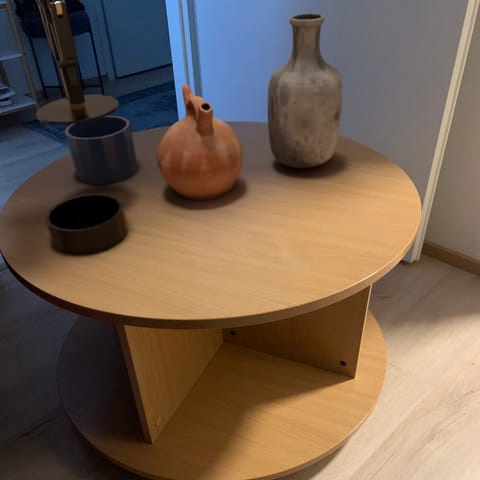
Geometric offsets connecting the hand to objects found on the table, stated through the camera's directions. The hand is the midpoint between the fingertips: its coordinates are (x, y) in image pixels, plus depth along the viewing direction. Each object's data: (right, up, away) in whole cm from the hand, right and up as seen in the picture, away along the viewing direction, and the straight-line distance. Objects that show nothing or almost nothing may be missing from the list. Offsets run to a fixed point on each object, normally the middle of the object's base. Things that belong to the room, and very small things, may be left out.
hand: (75, 100), depth 97 cm
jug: (+23, -13, +15) cm, 31 cm away
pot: (0, -6, +25) cm, 25 cm away
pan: (+2, -25, +2) cm, 26 cm away
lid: (0, -1, +1) cm, 2 cm away
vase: (+46, -5, +22) cm, 51 cm away
